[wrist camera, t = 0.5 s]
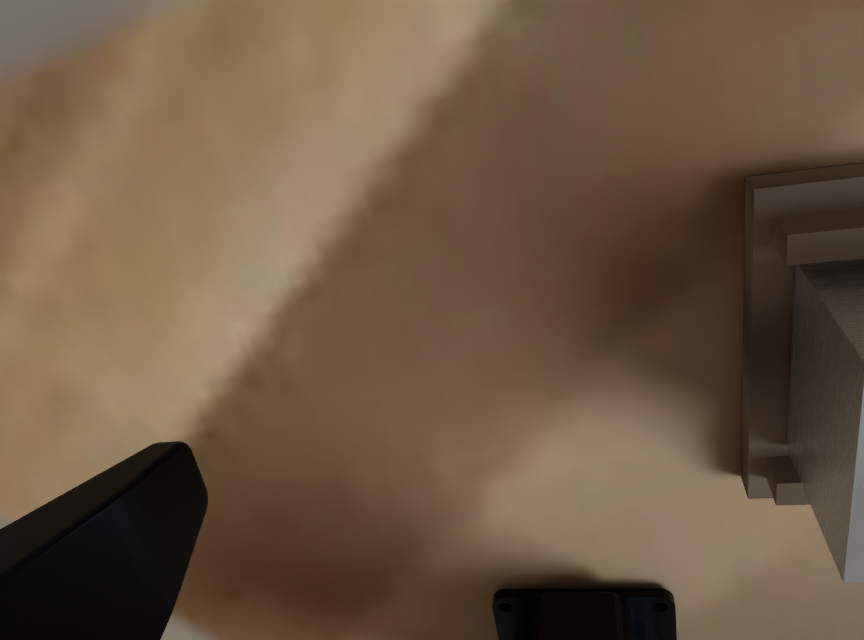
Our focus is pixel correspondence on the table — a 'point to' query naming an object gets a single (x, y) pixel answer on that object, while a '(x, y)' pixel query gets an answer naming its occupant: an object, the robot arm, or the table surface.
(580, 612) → the robot arm
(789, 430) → the block
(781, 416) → the guide board
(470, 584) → the table surface
